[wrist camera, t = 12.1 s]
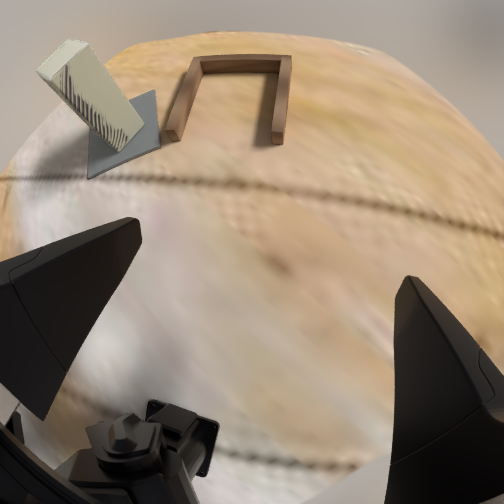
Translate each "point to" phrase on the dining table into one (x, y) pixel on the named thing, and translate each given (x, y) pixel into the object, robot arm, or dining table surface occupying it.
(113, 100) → the box
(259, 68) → the cradle
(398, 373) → the robot arm
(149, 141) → the coaster
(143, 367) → the dining table surface
